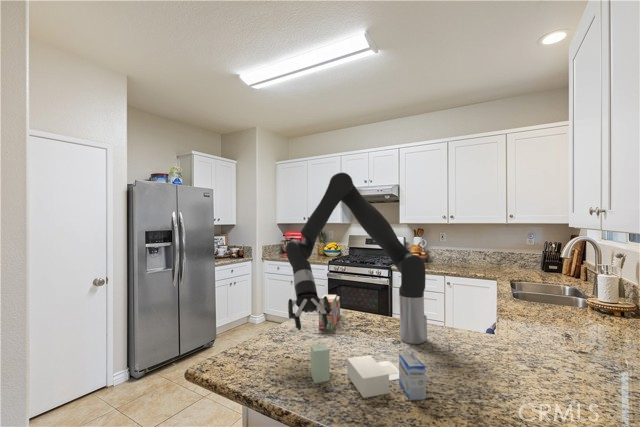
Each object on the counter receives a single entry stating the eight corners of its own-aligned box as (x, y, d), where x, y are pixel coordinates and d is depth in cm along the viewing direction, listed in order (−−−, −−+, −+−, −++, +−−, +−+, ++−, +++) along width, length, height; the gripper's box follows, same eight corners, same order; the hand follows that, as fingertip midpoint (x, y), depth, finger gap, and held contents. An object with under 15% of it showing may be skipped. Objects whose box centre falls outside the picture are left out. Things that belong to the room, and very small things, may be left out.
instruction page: (388, 361, 97) (388, 360, 97) (407, 378, 87) (407, 376, 87) (366, 364, 95) (366, 363, 95) (382, 382, 85) (382, 381, 85)
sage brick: (325, 373, 90) (324, 343, 91) (329, 380, 86) (329, 349, 86) (310, 375, 89) (310, 345, 89) (314, 383, 85) (314, 351, 85)
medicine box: (398, 384, 84) (398, 353, 84) (414, 383, 84) (413, 352, 84) (409, 401, 76) (408, 366, 76) (426, 399, 76) (425, 365, 76)
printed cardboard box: (328, 314, 149) (327, 289, 150) (340, 315, 148) (339, 290, 148) (318, 329, 128) (318, 300, 129) (332, 330, 127) (332, 301, 127)
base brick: (370, 371, 91) (369, 355, 91) (389, 393, 79) (388, 374, 79) (347, 375, 89) (347, 358, 89) (363, 397, 77) (363, 378, 77)
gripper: (286, 280, 103) (292, 324, 92) (325, 278, 107) (336, 320, 95) (284, 292, 108) (289, 335, 96) (321, 289, 112) (331, 331, 100)
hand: (312, 327), depth 96 cm, fingers open, 8 cm apart
